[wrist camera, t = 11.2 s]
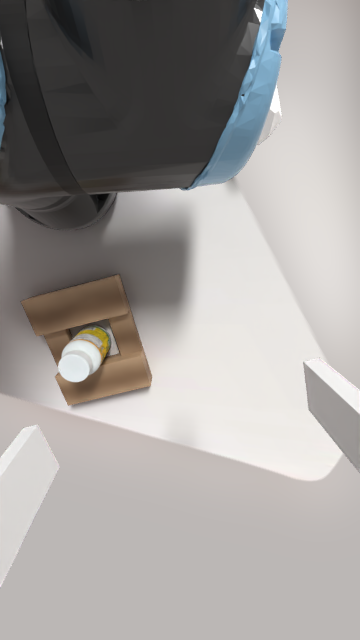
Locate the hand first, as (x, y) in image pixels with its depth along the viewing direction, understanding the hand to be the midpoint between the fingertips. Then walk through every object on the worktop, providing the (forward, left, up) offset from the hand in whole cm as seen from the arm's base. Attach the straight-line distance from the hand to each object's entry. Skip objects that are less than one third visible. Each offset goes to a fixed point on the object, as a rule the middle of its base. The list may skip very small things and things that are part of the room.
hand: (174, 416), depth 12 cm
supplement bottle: (+4, -14, -29) cm, 32 cm away
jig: (+4, -14, -29) cm, 32 cm away
